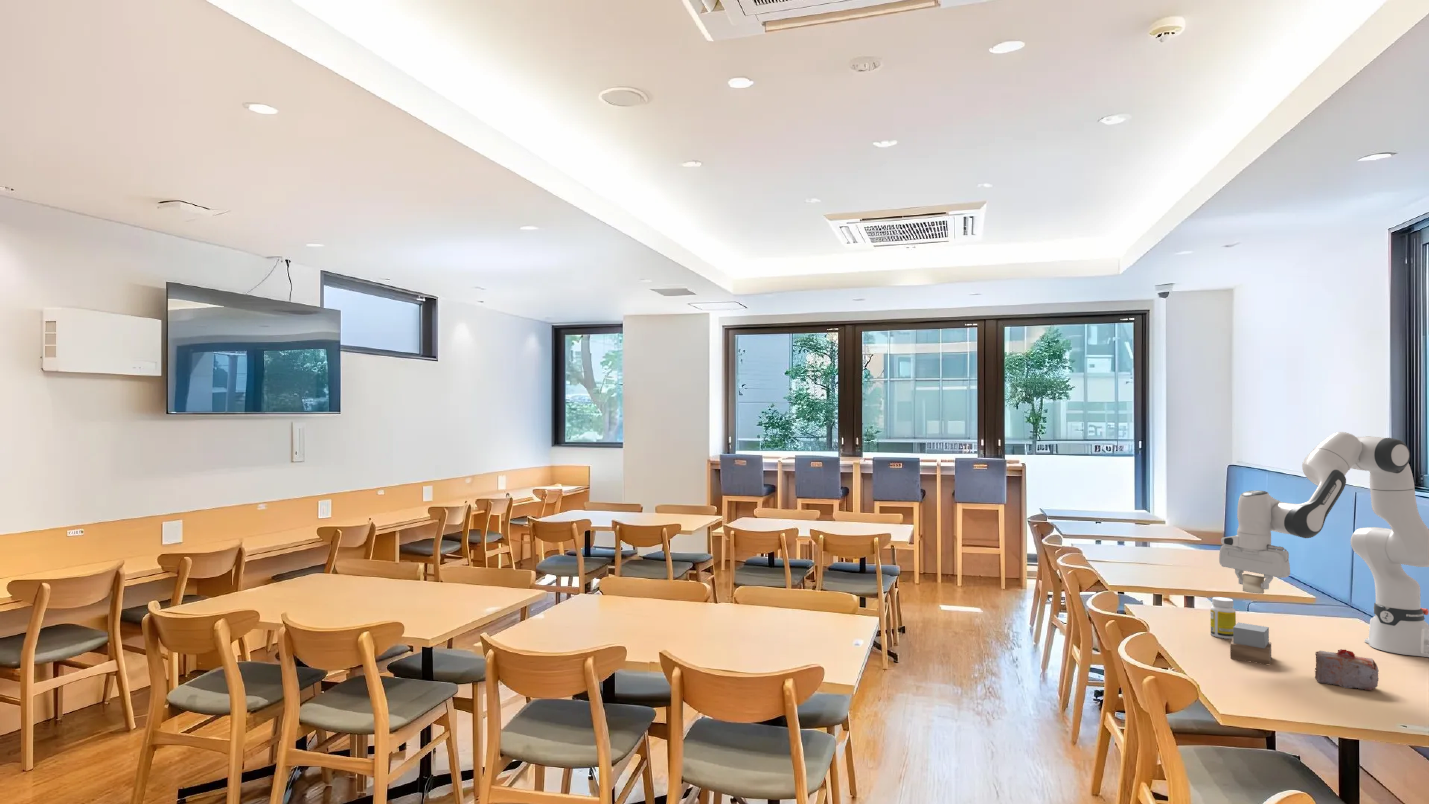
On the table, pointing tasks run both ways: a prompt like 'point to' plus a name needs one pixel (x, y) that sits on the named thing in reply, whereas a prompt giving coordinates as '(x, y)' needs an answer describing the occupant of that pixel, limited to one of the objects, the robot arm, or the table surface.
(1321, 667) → the food item
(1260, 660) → the walnut base block
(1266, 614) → the table surface
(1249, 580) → the beige block
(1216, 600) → the supplement bottle
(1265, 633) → the slate grey top block
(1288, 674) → the table surface
